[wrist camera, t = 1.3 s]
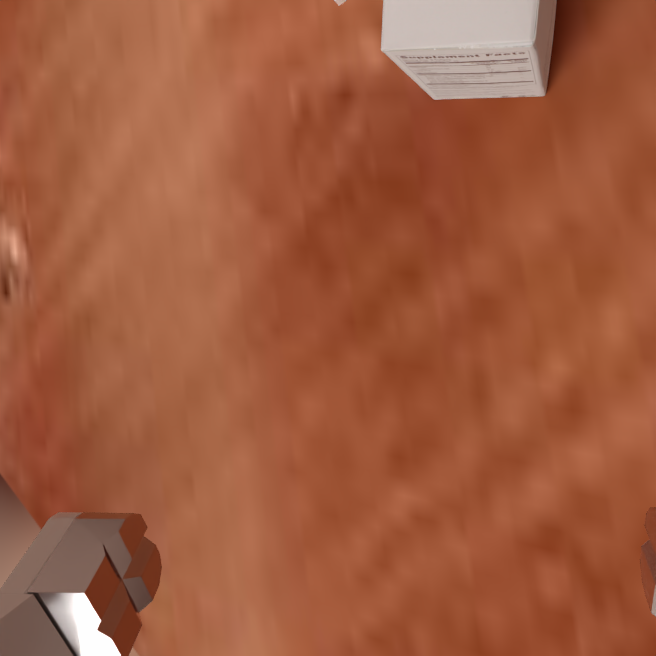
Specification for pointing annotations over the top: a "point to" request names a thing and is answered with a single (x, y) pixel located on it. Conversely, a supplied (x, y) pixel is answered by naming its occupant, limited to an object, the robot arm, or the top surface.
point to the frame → (339, 1)
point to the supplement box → (471, 45)
